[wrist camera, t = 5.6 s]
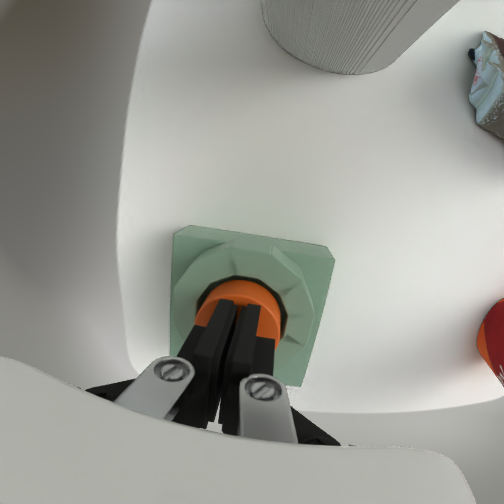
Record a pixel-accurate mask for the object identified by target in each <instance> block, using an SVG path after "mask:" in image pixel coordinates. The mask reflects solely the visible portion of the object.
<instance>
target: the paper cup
mask: <svg viewBox="0 0 504 504" xmlns="http://www.w3.org/2000/svg"><path fill="white" fill-rule="evenodd" d="M477 348H478V351H479V352H480V354H481V356H482V357H483V358H484V360H485V361H486V363H487V364H488V365H489V367H490V368H491V370H492V371H493V372H494V374H495V375H496V377H497V378H498V379H499V381H500V382H501V384H502V385H503V386H504V298H503V299H502V300H500V301H499V302H497V303H496V304H495V305H494V306H493V307H492V308H491V310H490V311H489V312H488V314H487V315H486V317H485V319H484V320H483V322H482V324H481V327H480V329H479V333H478V337H477Z"/></svg>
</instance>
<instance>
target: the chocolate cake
mask: <svg viewBox="0 0 504 504" xmlns="http://www.w3.org/2000/svg"><path fill="white" fill-rule="evenodd" d="M468 55H469V57H470V58H471V59H472V61H473V62H474V63H475V65H476V66H477V70H476V74H475V76H474V80H473V84H472V89H471V93H470V94H469V101H470V103H471V104H472V105H473V106H474V107H475V108H476V109H477V114H476V123H477V124H478V125H479V126H480V127H482V128H484V129H485V130H488V131H491V132H493V133H495V134H496V135H497V136H498V137H499V138H501V139H503V140H504V39H502V38H499V37H497V36H495V35H493V34H491V33H489V32H486V31H483V40H481V45H480V47H479V48H477V49H473V48H471V49H469V51H468Z"/></svg>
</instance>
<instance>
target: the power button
mask: <svg viewBox="0 0 504 504" xmlns="http://www.w3.org/2000/svg"><path fill="white" fill-rule="evenodd" d="M220 299H226V300H232V301H234V305H238V311H237V319H236V324H237V321H238V318H239V314H240V311H241V308H242V306H246V307H247V305H248V303H249V304H255V305H261V310H260V316H259V322H258V328H257V334H256V336H259V337H265V338H271V339H275V350H276V348H277V346H278V344H279V340H280V309H279V306H278V303H277V301H276V299H275V298H274V296H273V295H272V294H271V293H270V292H269V291H268V290H267V289H265V288H264V287H262V286H261V285H259V284H257V283H254V282H251V281H247V280H232V281H228V282H225V283H222V284H220V285H219V286H217V287H216V288H214V289H213V290H212V291H211V292H210V294H209V295H208V296H207V298H206V300H205V301H204V303H203V305H202V306H201V308H200V310H199V311H198V313H197V316H196V319H195V324H194V325H199V326H204V327H206V326H207V324H208V322H209V320H210V318H211V316H212V314H213V312H214V310H215V308H216V306H217V304H218V302H219V300H220ZM235 327H236V326H235Z"/></svg>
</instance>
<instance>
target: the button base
mask: <svg viewBox="0 0 504 504" xmlns="http://www.w3.org/2000/svg"><path fill="white" fill-rule="evenodd" d="M334 263H335V259H334V257H333V256H332V254H331V253H330V251H329V249H328V248H327V247H326V246H320V245H314V244H308V243H302V242H296V241H290V240H284V239H277V238H271V237H265V236H259V235H252V234H246V233H239V232H233V231H226V230H220V229H213V228H206V227H200V226H193V225H189V226H187V227H186V228H184V229H182V230H180V231H178V232H177V233H175V234H174V239H173V253H172V271H171V294H170V356H177V354H178V352H179V351H180V349H181V347H182V345H183V344H184V342H185V340H186V338H187V337H188V335H189V333H190V331H191V330H192V328H193V326H194V324H195V319H196V316H197V313H198V311H199V310H200V308H201V306H202V305H203V303H204V301H205V300H206V298H207V296H208V295H209V294H210V292H211V291H212V290H213V289H214V288H216V287H217V286H219V285H220V284H222V283H225V282H228V281H232V280H247V281H251V282H254V283H257V284H259V285H261V286H262V287H264V288H265V289H267V290H268V291H269V292H270V293H271V294H272V295H273V296H274V298H275V299H276V301H277V303H278V306H279V309H280V340H279V344H278V346H277V348H276V350H275V354H274V370H273V376H274V377H276V378H277V379H279V380H281V381H282V382H283V384H284V385H289V386H298V387H301V385H302V382H303V379H304V375H305V372H306V369H307V366H308V362H309V359H310V356H311V352H312V349H313V345H314V342H315V338H316V335H317V331H318V328H319V324H320V320H321V316H322V313H323V309H324V305H325V301H326V297H327V293H328V289H329V284H330V280H331V276H332V272H333V267H334Z"/></svg>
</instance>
